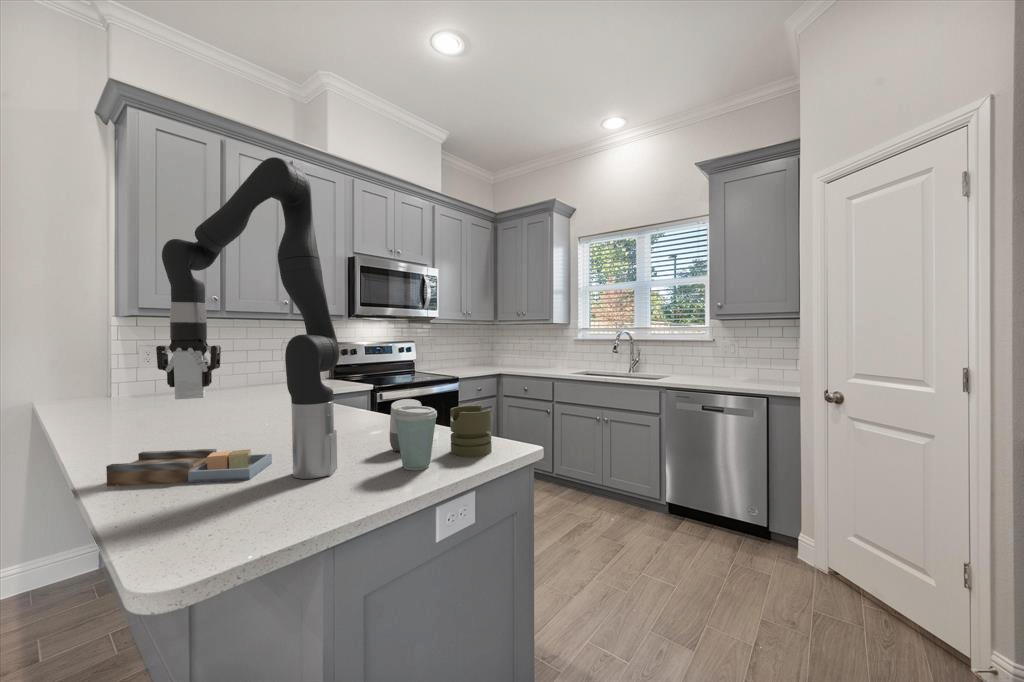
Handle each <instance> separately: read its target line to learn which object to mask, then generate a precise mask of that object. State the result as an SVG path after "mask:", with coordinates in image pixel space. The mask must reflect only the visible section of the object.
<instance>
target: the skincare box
mask: <svg viewBox="0 0 1024 682" xmlns="http://www.w3.org/2000/svg"><path fill="white" fill-rule="evenodd" d="M195 352H196V353H197V354H198V355H199V357H200V358H201V359H202V360H203V356H202V352H201V351H195ZM172 357H173V362H174V384H175V387H174V399H175V400H189V399H190V400H191V399H203V398H205V397H206V387H203V386H202V372H204V371H203V370H202V369H201V367H200V366H199V365H198V364H197V363H196V362H195V360H194V359H193V355H190V354H189V351H174V352H173V353H172ZM195 357H196V356H195ZM197 360H198V359H197Z"/></svg>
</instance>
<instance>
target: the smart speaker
mask: <svg viewBox="0 0 1024 682" xmlns="http://www.w3.org/2000/svg"><path fill="white" fill-rule="evenodd" d="M399 406H423V405H422V403H421V401H419V400H417V399H412V398H405V399H399V400H395V401H394V402H392V403H391V405H390V419H389V420H390V421H389V443H390V447H391V449H392V450H393V451H395V452H397V453H400V447H399V441H398V434H397V428H396V422H395V418H394V414H395V412H396V408H397V407H399Z"/></svg>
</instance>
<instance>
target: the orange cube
mask: <svg viewBox="0 0 1024 682" xmlns="http://www.w3.org/2000/svg"><path fill="white" fill-rule="evenodd" d="M231 452H232V451H231V450H229V451H228V450H227V451H216V452H213V453H211V454H210V455H209V456H208V457H207V470H217V469H229V454H230V453H231Z"/></svg>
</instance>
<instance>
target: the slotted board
mask: <svg viewBox="0 0 1024 682" xmlns="http://www.w3.org/2000/svg"><path fill="white" fill-rule="evenodd" d="M213 452H217V448H205V449H204V448H203V449H182V450H181V449H180V450H177V449H176V450H158V451H157V450H155V451H141V452H139V453H138V455H137V456H138V459H137V460H134V461H132V462H128V463H127V462H126V463H125V462H124V463H123V462H122V463H111V464H108V465H106V466H105V467H106V468H105V469H106V487H114V486H115V487H117V486H116V485H121V486H134V485H135V486H136V485H137V486H138V485H156V484H157V485H159V484H160V485H161V484H177V483H178V484H179V483H181V484H182V483H188V472H189V471H191V470H192V469H194V468H196V467H198V466H200V465H202V464H204V463H206V462H207V457H208V456H209V455H210V454H211V453H213Z"/></svg>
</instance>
